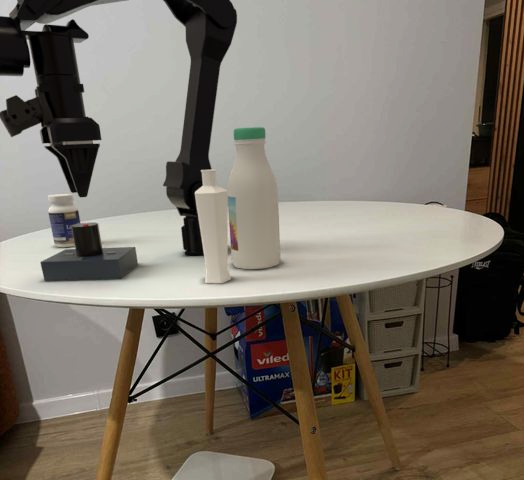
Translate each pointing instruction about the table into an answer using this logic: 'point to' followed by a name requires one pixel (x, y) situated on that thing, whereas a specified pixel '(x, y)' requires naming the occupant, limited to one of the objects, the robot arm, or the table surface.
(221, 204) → the perfume bottle
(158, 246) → the table surface
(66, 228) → the pill bottle
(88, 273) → the block
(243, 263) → the milk bottle
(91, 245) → the clamp knob
